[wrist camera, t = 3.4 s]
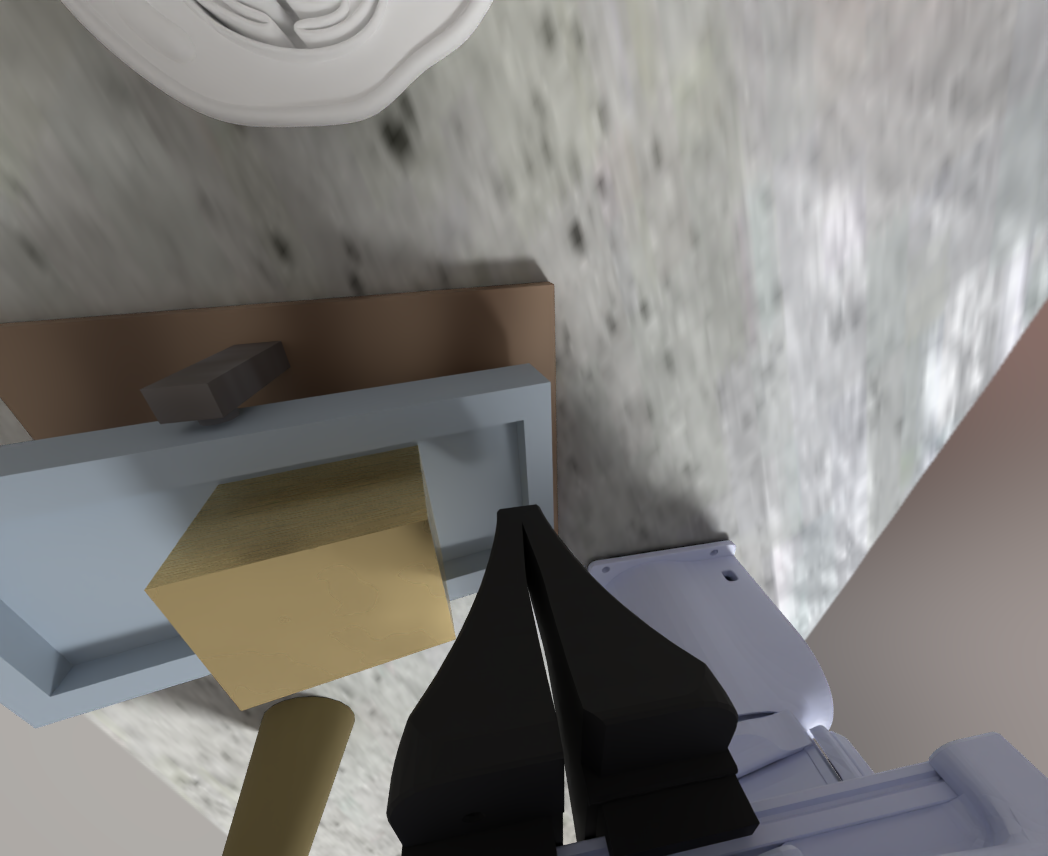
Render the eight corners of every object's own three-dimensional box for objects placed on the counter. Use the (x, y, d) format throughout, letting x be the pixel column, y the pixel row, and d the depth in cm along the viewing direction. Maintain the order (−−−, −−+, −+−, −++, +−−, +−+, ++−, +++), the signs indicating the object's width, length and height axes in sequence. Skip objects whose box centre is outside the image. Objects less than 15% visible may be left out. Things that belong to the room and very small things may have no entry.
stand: (548, 281, 15) (588, 303, 10) (554, 539, 21) (580, 626, 17) (-17, 324, 13) (-300, 377, 8) (182, 594, 19) (90, 710, 15)
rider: (417, 445, 13) (427, 519, 9) (441, 549, 15) (455, 639, 12) (218, 485, 11) (143, 590, 8) (278, 593, 14) (241, 711, 10)
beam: (529, 355, 14) (550, 373, 12) (538, 539, 18) (554, 573, 16) (-136, 455, 9) (-267, 508, 8) (88, 666, 14) (41, 732, 12)
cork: (241, 725, 25) (104, 1027, 16) (303, 686, 24) (197, 982, 15) (314, 750, 28) (236, 1020, 18) (373, 716, 27) (321, 983, 17)
